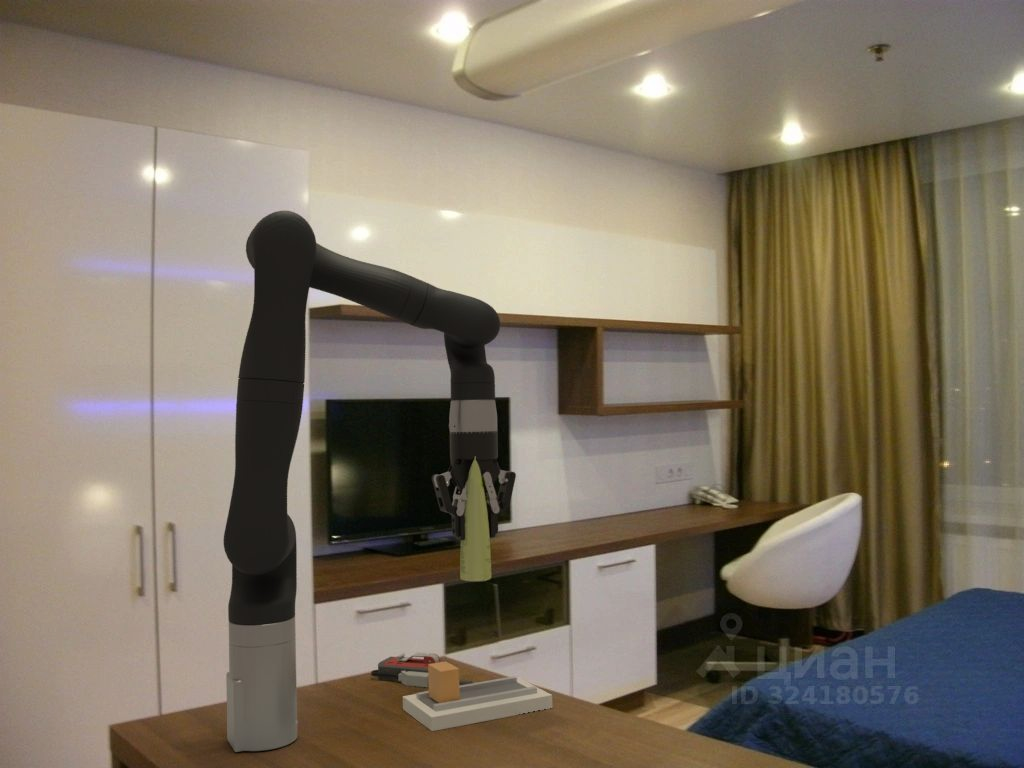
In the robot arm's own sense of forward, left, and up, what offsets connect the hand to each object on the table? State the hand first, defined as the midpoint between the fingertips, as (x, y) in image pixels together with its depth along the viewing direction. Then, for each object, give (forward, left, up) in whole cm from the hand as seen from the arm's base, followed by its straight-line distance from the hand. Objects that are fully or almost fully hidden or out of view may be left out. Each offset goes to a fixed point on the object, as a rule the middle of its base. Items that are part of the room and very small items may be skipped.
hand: (475, 537), depth 144 cm
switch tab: (-6, 0, -24) cm, 25 cm away
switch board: (0, 0, -26) cm, 26 cm away
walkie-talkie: (-1, +19, -27) cm, 33 cm away
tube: (0, 0, -7) cm, 7 cm away
